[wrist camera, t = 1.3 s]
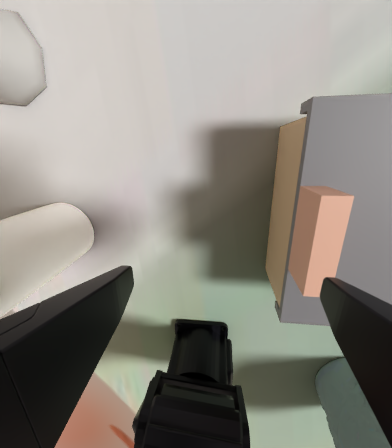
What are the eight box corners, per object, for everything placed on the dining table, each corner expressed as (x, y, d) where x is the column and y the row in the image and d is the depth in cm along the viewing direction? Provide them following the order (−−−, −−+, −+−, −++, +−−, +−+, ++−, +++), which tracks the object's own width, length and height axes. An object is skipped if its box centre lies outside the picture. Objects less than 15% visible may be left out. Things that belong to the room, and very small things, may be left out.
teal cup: (384, 343, 24) (525, 511, 13) (404, 399, 27) (537, 581, 15) (296, 364, 27) (351, 520, 16) (322, 414, 29) (385, 579, 18)
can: (31, 221, 24) (-133, 284, 13) (66, 189, 22) (-90, 230, 11) (71, 263, 26) (-47, 353, 14) (107, 236, 24) (5, 314, 12)
